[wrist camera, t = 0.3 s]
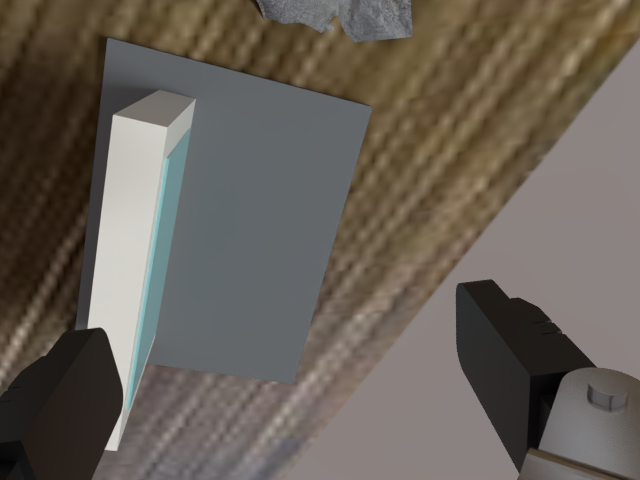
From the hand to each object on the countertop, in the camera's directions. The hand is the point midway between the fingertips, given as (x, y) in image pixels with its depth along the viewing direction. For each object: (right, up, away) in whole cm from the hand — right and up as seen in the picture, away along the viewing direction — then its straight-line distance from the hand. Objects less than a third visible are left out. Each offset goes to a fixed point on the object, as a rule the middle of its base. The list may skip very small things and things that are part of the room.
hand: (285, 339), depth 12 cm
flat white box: (-9, +3, +20) cm, 22 cm away
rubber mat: (-6, +3, +21) cm, 22 cm away
